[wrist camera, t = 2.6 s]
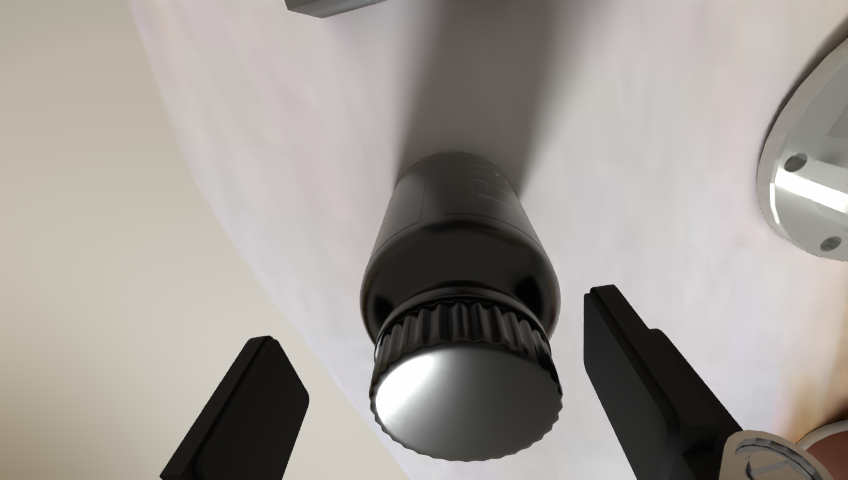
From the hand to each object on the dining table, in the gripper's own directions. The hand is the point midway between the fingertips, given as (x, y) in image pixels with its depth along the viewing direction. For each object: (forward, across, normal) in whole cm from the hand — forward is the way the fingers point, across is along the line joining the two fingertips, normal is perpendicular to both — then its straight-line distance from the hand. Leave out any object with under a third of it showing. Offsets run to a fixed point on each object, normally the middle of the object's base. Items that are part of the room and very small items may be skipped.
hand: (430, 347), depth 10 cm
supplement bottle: (+10, -1, 0) cm, 10 cm away
